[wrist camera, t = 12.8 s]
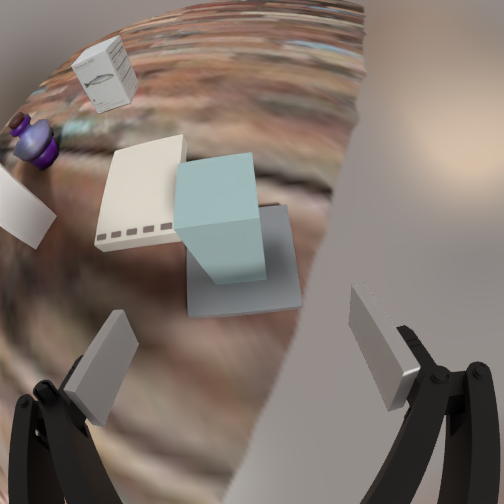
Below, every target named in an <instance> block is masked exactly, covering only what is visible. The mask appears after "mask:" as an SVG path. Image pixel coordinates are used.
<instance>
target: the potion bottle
mask: <svg viewBox="0 0 504 504" xmlns="http://www.w3.org/2000/svg"><path fill="white" fill-rule="evenodd" d="M30 120H31V117H30V116H29V115H28V114H23V113H21V112H19V113H18V114H17V115H16V116H15V117H14V118H13V119H12V120H11V122H10V123H9V127H10V128H11V131H10V134H11V135H12V136H13V137H17V136H19V138H20V140H19V141H18V142H17V144H16V147H15V150H14V153H13V155H15V156H16V157H18V158H20V159H21V160H23V161H26V162H29V163H30V164H32V165H34V166H36V167H37V168H39V170H42V171H44V170H46V169H47V168H48V167H49V166H51V165H52V164H53V163H54V161H55V160H56V158H57V157H58V155H59V149H60V148H58V147H57V145H56V142H55V140H54V138H53V136H54V132H53V130H52V128H51V127H50V125H49V123H48V120H47V119H42V120H38V121H37V122H36V123H35V124H33V125H32V126H31V124H30Z"/></svg>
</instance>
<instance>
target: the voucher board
mask: <svg viewBox="0 0 504 504" xmlns="http://www.w3.org/2000/svg"><path fill="white" fill-rule="evenodd" d="M186 153H187V143H186V140H185V138H184V135H183V134H181V135H177V136H172V137H167V138H163V139H159V140H155V141H151V142H147V143H143V144H139V145H135V146H132V147H128V148H124V149H121V150H118V151H115V153H114V156H113V160H112V163H111V167H110V171H109V174H108V178H107V182H106V187H105V191H104V195H103V200H102V204H101V209H100V214H99V220H98V225H97V231H96V237H95V243H94V246H96V247H97V248H98V249H100V250H101V251H103V252H108V251H115V250H121V249H128V248H136V247H143V246H150V245H157V244H165V243H172V242H180V241H182V240H181V239H180V237H179V236H178V235H177V233H176V232H175V231H174V229H173V225H174V207H175V192H176V179H177V168H178V164H180V163H185V162H186Z"/></svg>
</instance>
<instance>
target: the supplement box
mask: <svg viewBox="0 0 504 504" xmlns="http://www.w3.org/2000/svg"><path fill="white" fill-rule="evenodd" d="M72 68H73V70H74V72H75V74H76V75H77V77H78V79H79V81H80V83H81V84H82V86H83V88H84V90H85V91H86V93H87V95H88V97H89V98H90V100H91V102H92V104H93V105H94V107H95V109H96V110H97V112H98V114H100V113H102V112H105V111H108V110H110V109H113V108H117V107H120V106H123V105H126V104H130V103H131V101H132V99H133V97H134V95H135V92H136V90H137V88H138V85H139V83H138V80H137V78H136V75H135V73H134V70H133V68H132V65H131V63H130V61H129V58H128V56H127V53H126V51H125V48H124V46H123V43H122V41H121V38H120V35H118V36H116V37H113V38H111V39H108V40H106V41H104V42H101V43H99V44H96V45H94V46H92V47H90V48H88V49H86V50H85V51H84V52H83V53H82V54H81V55H80V56H79V58H78V59H77V60H76V61H75V62H74V63H73V64H72Z"/></svg>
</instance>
